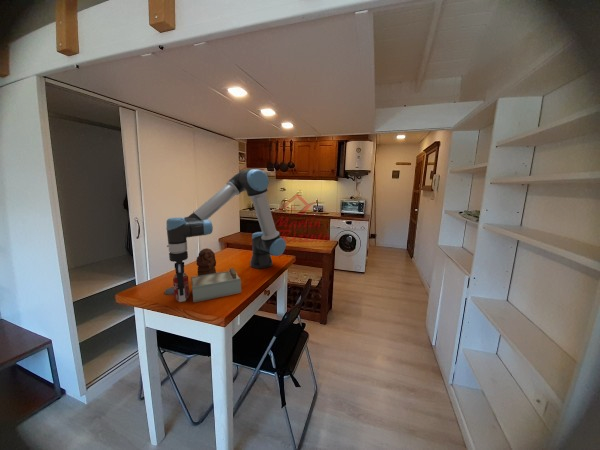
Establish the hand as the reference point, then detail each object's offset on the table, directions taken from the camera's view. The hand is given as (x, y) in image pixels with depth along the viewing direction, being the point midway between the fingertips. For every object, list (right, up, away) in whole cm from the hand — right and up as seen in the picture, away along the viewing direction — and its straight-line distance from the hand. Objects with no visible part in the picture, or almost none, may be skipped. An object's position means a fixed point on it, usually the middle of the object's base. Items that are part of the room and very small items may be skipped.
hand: (182, 297), depth 106 cm
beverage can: (0, -1, 0) cm, 1 cm away
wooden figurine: (+3, +3, +24) cm, 24 cm away
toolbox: (+14, +1, +7) cm, 16 cm away
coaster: (-8, +1, +8) cm, 12 cm away
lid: (+14, +7, +6) cm, 17 cm away
